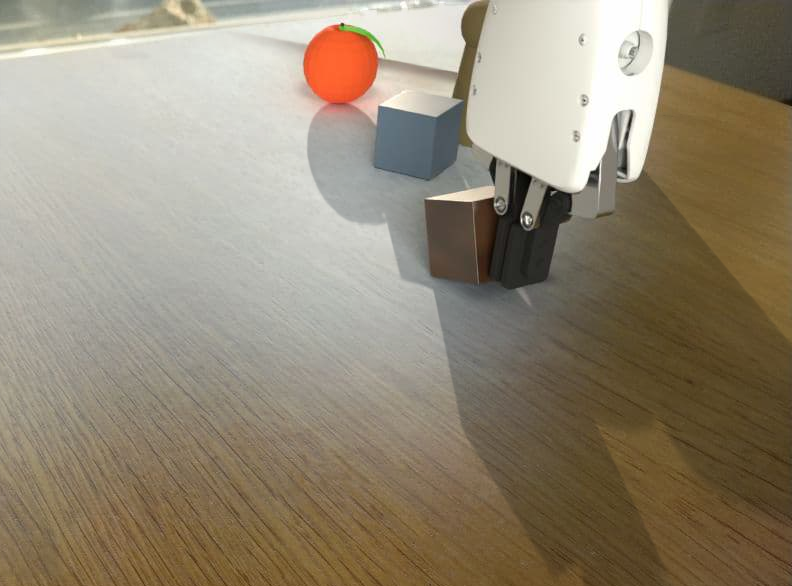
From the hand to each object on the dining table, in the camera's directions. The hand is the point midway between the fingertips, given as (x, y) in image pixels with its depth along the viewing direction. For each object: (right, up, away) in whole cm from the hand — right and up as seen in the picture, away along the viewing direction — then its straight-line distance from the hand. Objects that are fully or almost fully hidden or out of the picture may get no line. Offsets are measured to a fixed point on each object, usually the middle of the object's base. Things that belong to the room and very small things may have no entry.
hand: (517, 279), depth 59 cm
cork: (+4, +16, +26) cm, 31 cm away
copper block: (-1, +1, +3) cm, 4 cm away
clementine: (-7, +21, +33) cm, 40 cm away
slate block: (-3, +12, +21) cm, 24 cm away
